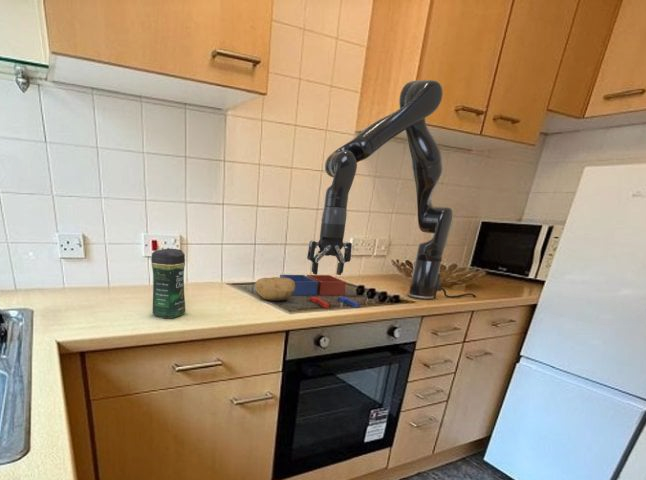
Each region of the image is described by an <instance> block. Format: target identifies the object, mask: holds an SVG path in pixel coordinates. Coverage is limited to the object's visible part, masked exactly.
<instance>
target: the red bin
mask: <svg viewBox="0 0 646 480" xmlns="http://www.w3.org/2000/svg"><path fill="white" fill-rule="evenodd" d="M306 276H307V277H309V278H311V279H313V280H315V281H317V282H318V288H317V295H319V296H345V292H346V286H347V282H346V281H344V280H342V279H340V278H337V277H336V276H332V275H330V274H317V275H315V274H306Z"/></svg>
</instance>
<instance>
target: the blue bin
mask: <svg viewBox="0 0 646 480" xmlns="http://www.w3.org/2000/svg"><path fill="white" fill-rule="evenodd" d="M279 278H289V279H292V280H293V281H294V282H295V285H296V286H295V291H294V292H293V294H292V296H317V295H318V294H317V288H318V282H317V281H315V280H313V279H311V278H309V277H307V275H305V274H279Z"/></svg>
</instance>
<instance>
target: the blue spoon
mask: <svg viewBox="0 0 646 480" xmlns="http://www.w3.org/2000/svg"><path fill="white" fill-rule="evenodd" d="M337 301H338V302H339V303H344V304H347V305H349V306H350V307H353V308H359V305H360V303H359V302H357V301H355V300H353V299H351V298H350V297H348V296H338V299H337Z"/></svg>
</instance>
